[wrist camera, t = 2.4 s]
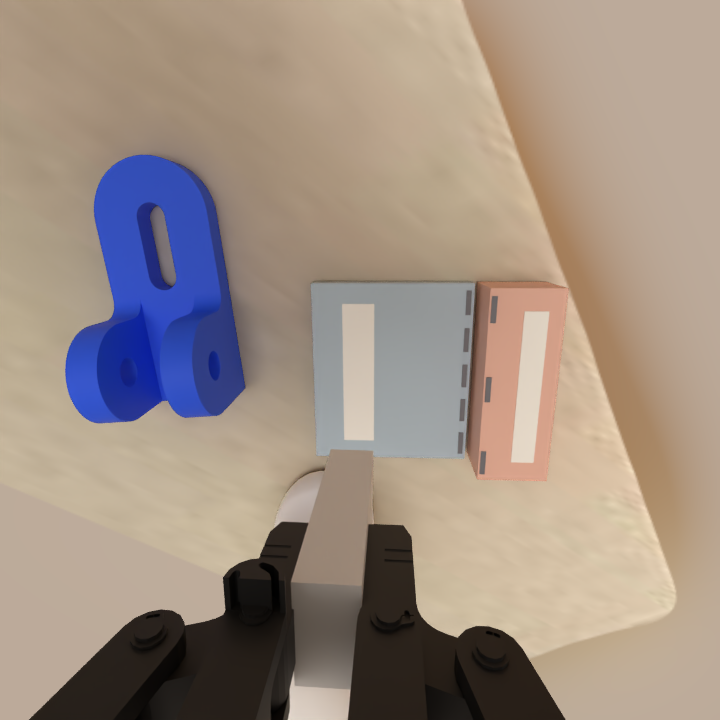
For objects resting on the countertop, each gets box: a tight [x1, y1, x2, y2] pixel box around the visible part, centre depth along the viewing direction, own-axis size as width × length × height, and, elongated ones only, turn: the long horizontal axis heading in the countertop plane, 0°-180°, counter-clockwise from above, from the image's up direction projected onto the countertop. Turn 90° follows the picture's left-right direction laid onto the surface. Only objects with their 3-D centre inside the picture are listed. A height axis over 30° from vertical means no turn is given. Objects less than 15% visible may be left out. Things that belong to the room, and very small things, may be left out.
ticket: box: [311, 282, 475, 459], centre depth 36 cm, size 14×12×2 cm
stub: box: [467, 282, 569, 481], centre depth 33 cm, size 14×5×5 cm, turn 0°
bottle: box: [275, 471, 374, 720], centre depth 26 cm, size 8×8×30 cm
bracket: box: [65, 155, 245, 423], centre depth 31 cm, size 18×8×9 cm, turn 5°
